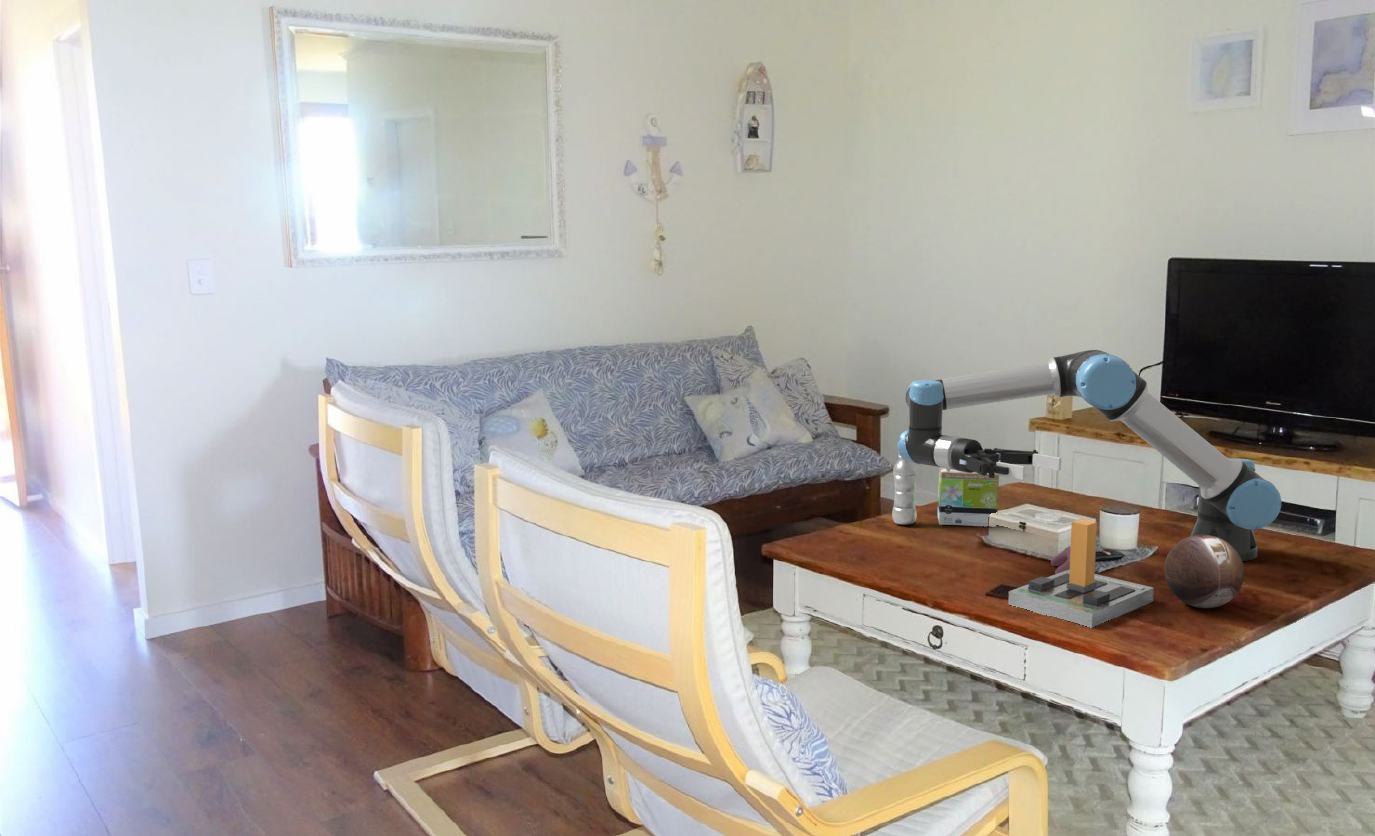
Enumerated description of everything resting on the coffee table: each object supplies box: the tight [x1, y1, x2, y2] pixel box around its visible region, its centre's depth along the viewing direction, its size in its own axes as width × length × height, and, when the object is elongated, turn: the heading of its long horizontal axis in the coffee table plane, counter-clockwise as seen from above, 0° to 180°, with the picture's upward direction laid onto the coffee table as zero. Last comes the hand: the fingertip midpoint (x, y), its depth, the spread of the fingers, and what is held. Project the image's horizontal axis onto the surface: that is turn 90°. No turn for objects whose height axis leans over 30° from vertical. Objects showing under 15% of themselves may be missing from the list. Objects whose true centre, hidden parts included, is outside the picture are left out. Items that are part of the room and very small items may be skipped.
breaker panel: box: [1007, 569, 1155, 629], centre depth 239 cm, size 24×19×5 cm
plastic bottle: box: [891, 453, 918, 526], centre depth 303 cm, size 6×7×20 cm
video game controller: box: [1050, 545, 1071, 575], centre depth 260 cm, size 10×5×7 cm, turn 169°
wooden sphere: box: [1163, 535, 1245, 609], centre depth 235 cm, size 15×15×15 cm
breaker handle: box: [1067, 518, 1098, 593], centre depth 237 cm, size 5×4×14 cm
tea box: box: [937, 467, 1000, 528], centre depth 305 cm, size 15×10×15 cm, turn 80°
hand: (1042, 468), depth 242 cm, fingers open, 13 cm apart
